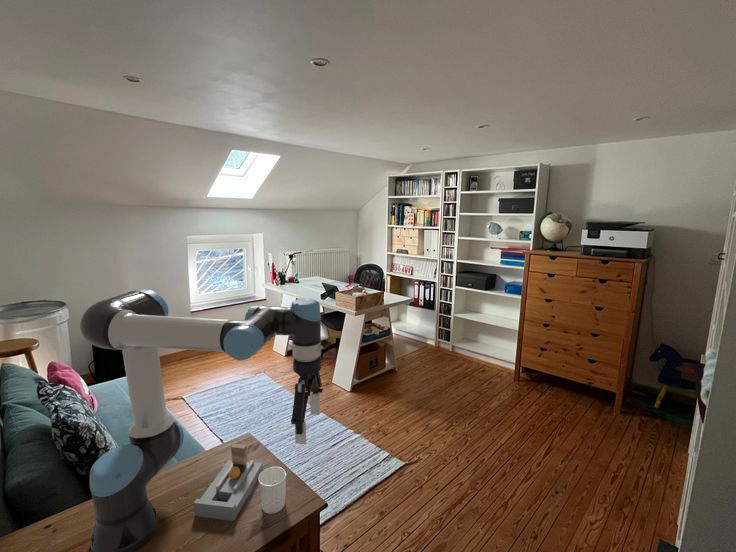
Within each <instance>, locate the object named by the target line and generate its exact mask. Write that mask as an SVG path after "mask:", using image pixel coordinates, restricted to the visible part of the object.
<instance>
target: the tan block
mask: <svg viewBox="0 0 736 552" xmlns="http://www.w3.org/2000/svg"><path fill="white" fill-rule="evenodd" d="M230 449H231V451H230V452H231V460H232V463H233V467H238V468H239V469H240V472H244V471H245V469H246V468H247V466H246V463H247V462H248V452H247V451H248V449H247V445H246V444H237V443H233V444H232V446H231V448H230Z"/></svg>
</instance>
